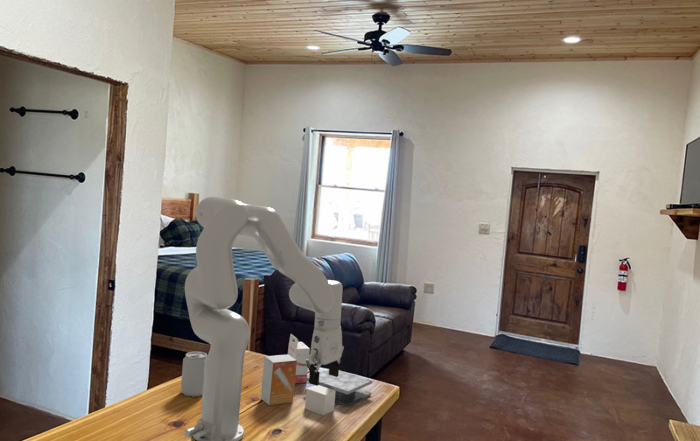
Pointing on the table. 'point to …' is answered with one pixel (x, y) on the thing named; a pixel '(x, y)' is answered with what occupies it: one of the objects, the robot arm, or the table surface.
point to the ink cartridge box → (299, 358)
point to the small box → (278, 379)
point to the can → (193, 374)
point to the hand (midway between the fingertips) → (323, 379)
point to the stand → (345, 387)
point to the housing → (320, 399)
